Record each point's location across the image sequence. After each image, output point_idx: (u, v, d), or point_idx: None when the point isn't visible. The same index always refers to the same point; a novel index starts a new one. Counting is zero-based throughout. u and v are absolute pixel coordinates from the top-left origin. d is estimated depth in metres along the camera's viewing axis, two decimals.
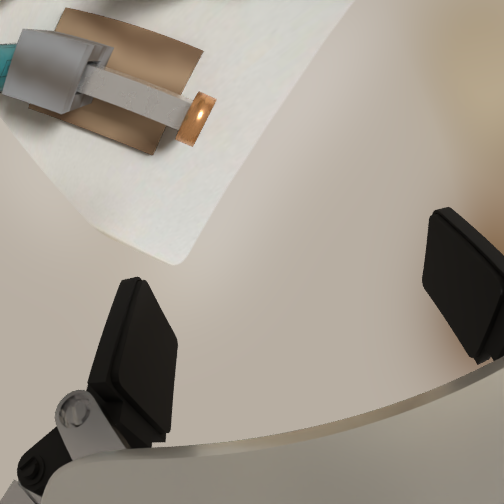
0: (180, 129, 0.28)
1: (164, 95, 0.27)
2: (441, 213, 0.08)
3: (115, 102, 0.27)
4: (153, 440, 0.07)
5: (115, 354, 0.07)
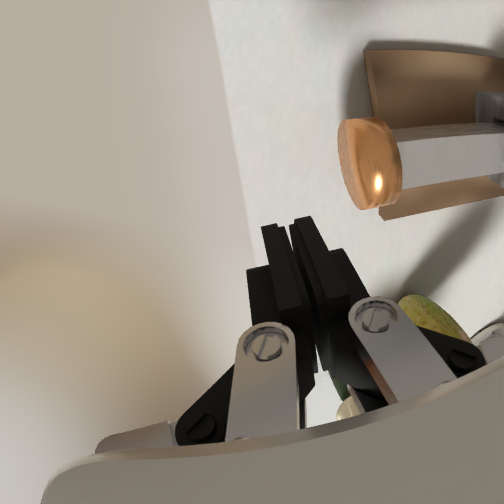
0: (397, 155, 0.15)
1: (430, 180, 0.17)
2: (296, 222, 0.10)
3: (481, 138, 0.16)
4: None
5: (296, 283, 0.07)
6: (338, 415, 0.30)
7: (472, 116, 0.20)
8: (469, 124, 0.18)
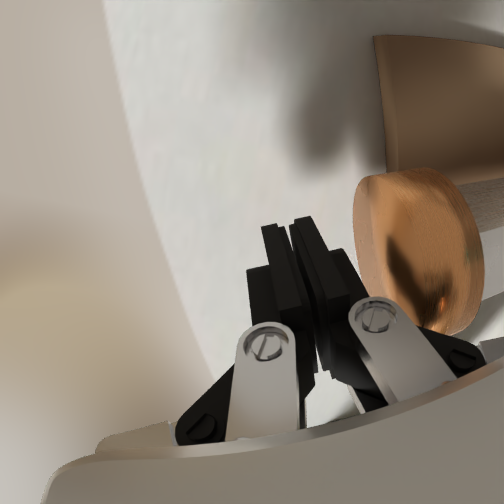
0: (480, 271, 0.07)
1: None
2: (296, 223, 0.10)
3: None
4: None
5: (296, 282, 0.07)
6: None
7: None
8: None
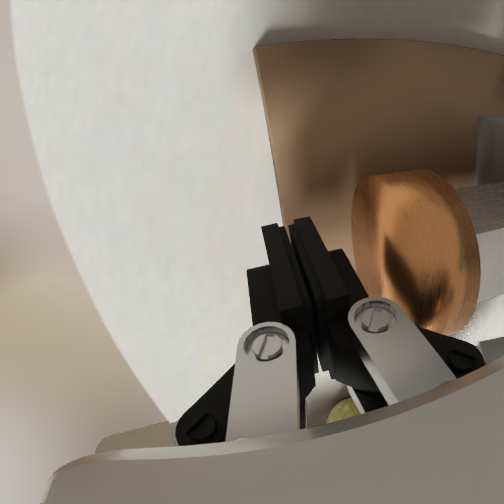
0: (476, 272, 0.07)
1: (503, 289, 0.09)
2: (295, 223, 0.10)
3: None
4: None
5: (297, 282, 0.07)
6: None
7: (470, 161, 0.12)
8: None
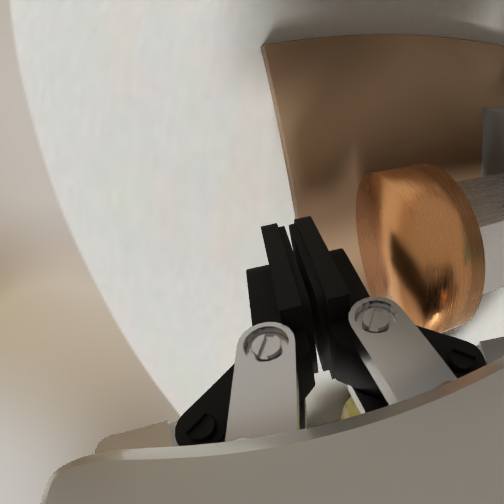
0: (481, 264, 0.07)
1: None
2: (296, 222, 0.10)
3: None
4: None
5: (296, 283, 0.07)
6: None
7: (476, 152, 0.12)
8: None
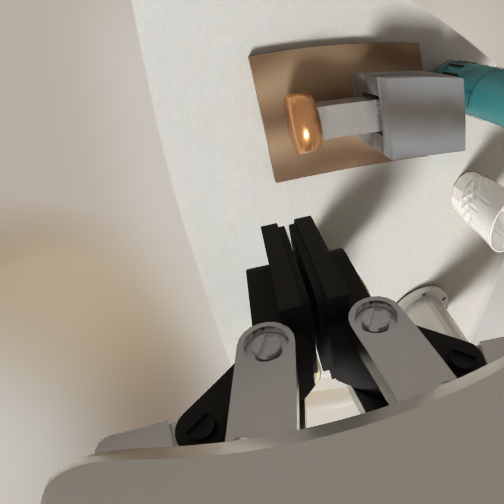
0: (317, 114, 0.24)
1: (349, 132, 0.26)
2: (296, 222, 0.10)
3: None
4: None
5: (296, 283, 0.07)
6: None
7: (350, 94, 0.29)
8: None
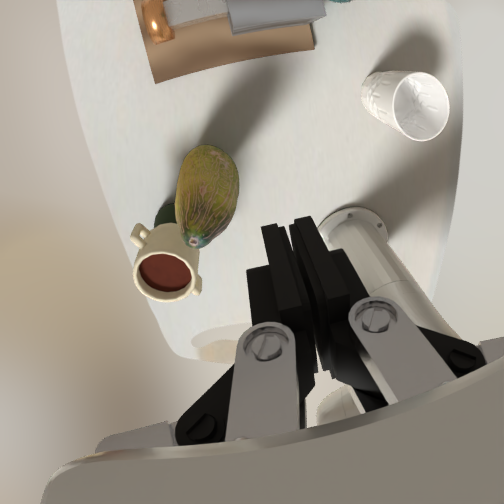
0: (160, 3, 0.22)
1: (196, 16, 0.24)
2: (296, 222, 0.10)
3: None
4: None
5: (296, 283, 0.07)
6: None
7: None
8: None
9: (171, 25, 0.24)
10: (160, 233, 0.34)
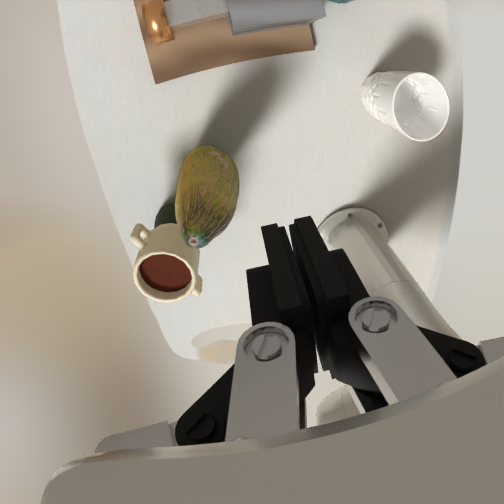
0: (160, 4, 0.22)
1: (196, 16, 0.24)
2: (296, 222, 0.10)
3: None
4: None
5: (296, 283, 0.07)
6: None
7: None
8: None
9: (171, 25, 0.24)
10: (160, 233, 0.34)
